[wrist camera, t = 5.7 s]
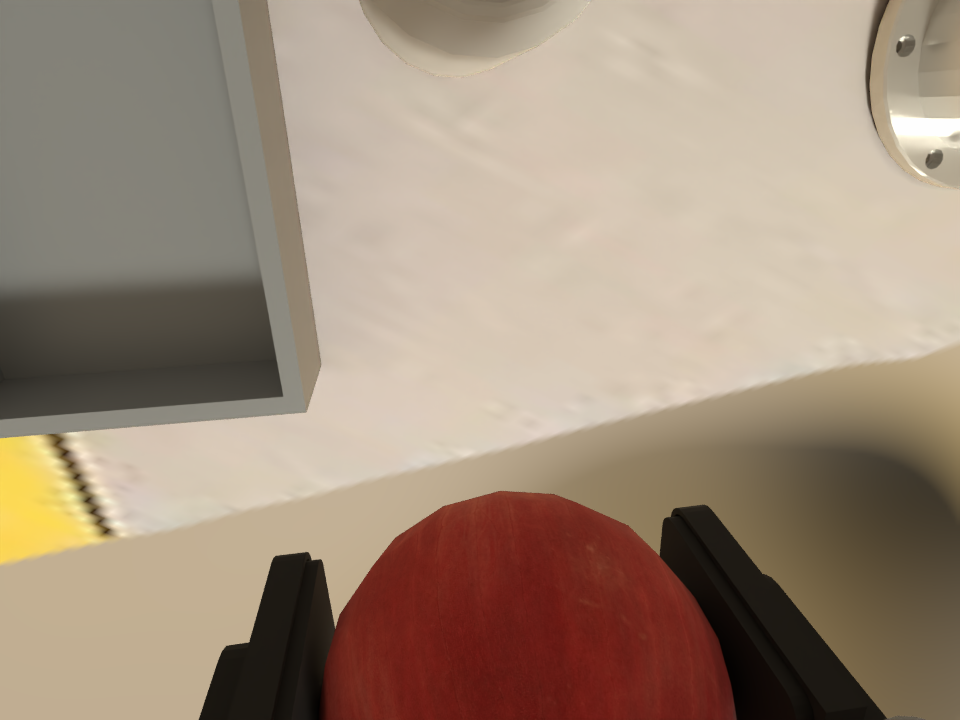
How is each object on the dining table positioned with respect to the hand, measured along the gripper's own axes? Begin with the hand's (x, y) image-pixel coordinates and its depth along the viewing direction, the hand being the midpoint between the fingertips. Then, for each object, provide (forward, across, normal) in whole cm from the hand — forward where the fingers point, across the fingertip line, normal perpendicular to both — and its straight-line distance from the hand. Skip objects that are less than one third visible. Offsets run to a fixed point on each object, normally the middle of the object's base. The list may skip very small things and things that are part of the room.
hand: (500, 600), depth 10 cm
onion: (+2, 0, 0) cm, 2 cm away
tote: (+20, +13, -7) cm, 24 cm away
